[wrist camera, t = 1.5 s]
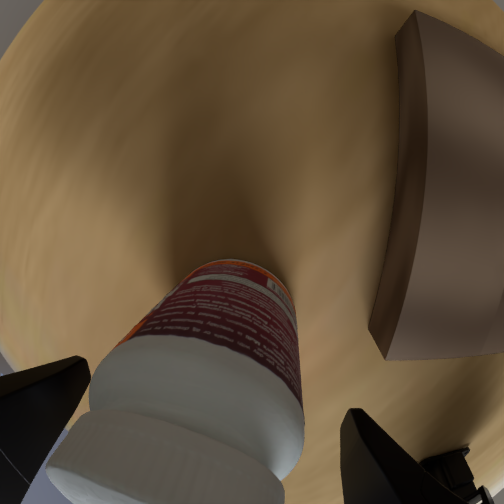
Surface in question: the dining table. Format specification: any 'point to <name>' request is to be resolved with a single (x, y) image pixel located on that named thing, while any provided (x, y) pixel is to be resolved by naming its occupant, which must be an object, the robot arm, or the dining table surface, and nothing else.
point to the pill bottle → (194, 399)
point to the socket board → (445, 200)
